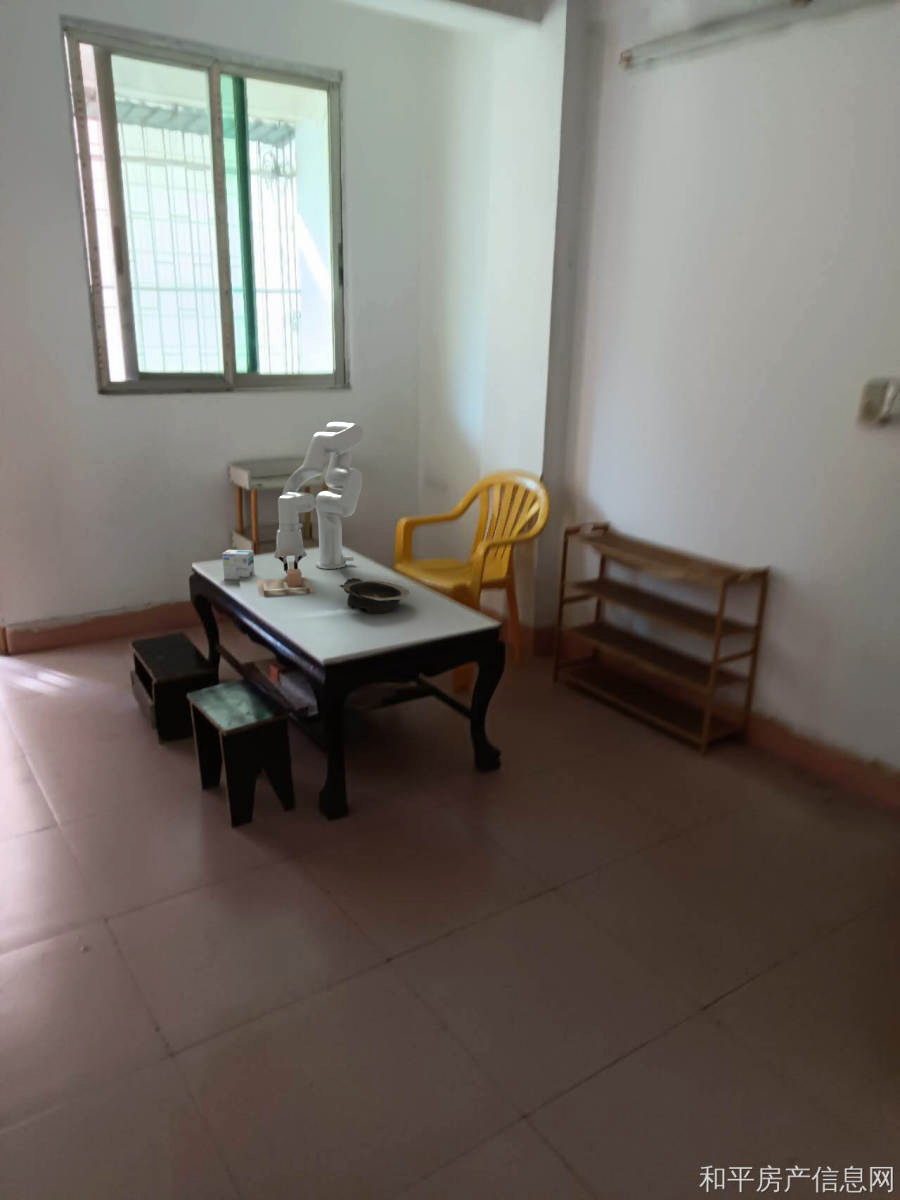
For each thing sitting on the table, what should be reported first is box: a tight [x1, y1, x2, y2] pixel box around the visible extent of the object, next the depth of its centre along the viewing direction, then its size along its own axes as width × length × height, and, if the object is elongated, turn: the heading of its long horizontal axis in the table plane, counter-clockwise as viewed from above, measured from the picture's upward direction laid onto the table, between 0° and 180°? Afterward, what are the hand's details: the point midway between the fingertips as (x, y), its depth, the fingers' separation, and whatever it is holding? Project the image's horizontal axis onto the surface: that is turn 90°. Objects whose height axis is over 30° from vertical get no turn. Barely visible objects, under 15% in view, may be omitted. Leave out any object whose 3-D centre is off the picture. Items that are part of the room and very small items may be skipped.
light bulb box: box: [222, 549, 256, 580], centre depth 328 cm, size 11×7×11 cm, turn 84°
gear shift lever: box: [286, 560, 303, 586], centre depth 320 cm, size 5×13×6 cm, turn 17°
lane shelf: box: [255, 576, 315, 597], centre depth 314 cm, size 20×22×4 cm
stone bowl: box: [339, 577, 411, 615], centre depth 296 cm, size 25×25×9 cm
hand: (291, 571), depth 328 cm, fingers open, 2 cm apart
